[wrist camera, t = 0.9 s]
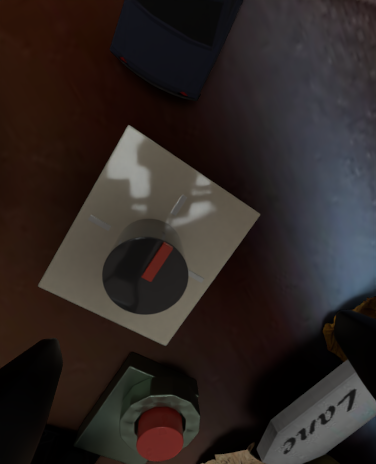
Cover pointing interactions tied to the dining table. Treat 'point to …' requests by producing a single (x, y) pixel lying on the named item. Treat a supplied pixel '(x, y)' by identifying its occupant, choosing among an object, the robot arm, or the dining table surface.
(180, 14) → the toy car
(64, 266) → the panel
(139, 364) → the button box
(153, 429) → the red button
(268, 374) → the dining table surface
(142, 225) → the stove knob
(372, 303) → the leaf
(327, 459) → the apple
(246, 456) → the sandwich
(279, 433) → the sign
